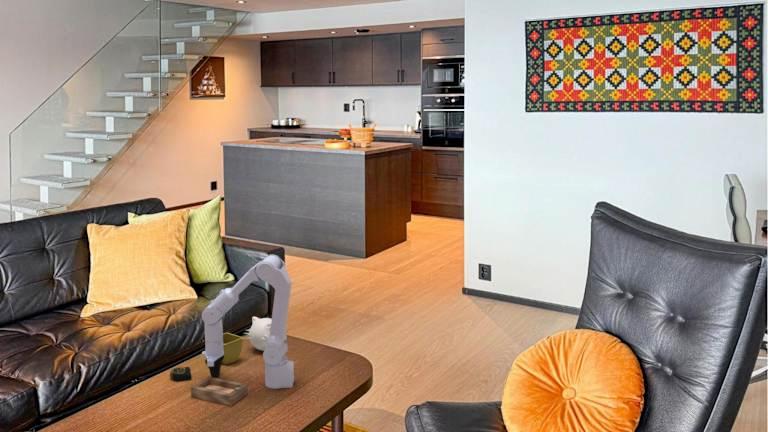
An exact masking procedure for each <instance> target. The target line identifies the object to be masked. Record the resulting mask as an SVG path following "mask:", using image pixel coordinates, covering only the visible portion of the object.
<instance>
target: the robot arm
mask: <svg viewBox="0 0 768 432" xmlns="http://www.w3.org/2000/svg"><path fill="white" fill-rule="evenodd" d="M259 281H263V282H265V283H267V284H269V285H270V286H272V288H274V298H273V305H272V306H273V307H272V314H271V319H272V321H271V329H270V336H269V339H268V342H267V348H266V349H265V351H262V352H263V354H262V358H263V361H264V375H265V377H264V379H265V381H264V384H265V386H266V387H267V388H268V389H272V390H274V389H282V388H283V389H285V388H286V389H288V388H289V389H290V388H293V386H294V383H295V377H294V376H295V375H294V374H295V372H294V370H295V369H294V368H295V367H294V366H295V365H294V361H293V360H289V359H288V358H287V355H286V353H287V352H288V350H289V344H288V341H287V333H286V332H287V331H286V330H287V323H288V314H289V305H290V298H291V289H292V280H291V277H290V275H289V273H288V271H287V269H286V263H285V262H284V260H282V259H281V258H280V256H279V255H276V254H268V255H266V256H265V257H264V258H263V259H262V260H260V261H259V262H257V263H256V264H255V265H253V266H252V267H251V268H249V269H248V271H247V272H246V273H244V275H243V276H242V277H241V278H240V279H239V280H238V281H237V282H236V283H235V284H234V285H233V286H232V287H226V288H225V289H223V288H222V289H221V290H220V291H219V292H218V293H219V295H218V296H216V298H214V299H211V301H210V302H209V304H208V305H207V307H205V308H204V309H203V310H202V312H201V319H202V321H203V322H204V341H205V342H204V344H205V350H204V351H202V352H201V355H202V356H205V360H204V363H205V364H206V366H207V367H208V370H209V372H210V377H214V378H218V379H220V374H221V369H222V365H223V364H222V361H223V359H224V350H223V334H224V329H223V328H224V327H223V317H224V316H225V314H227V312H228V311H230V309H232V308H233V307H234V306H235V305H236V304H237V303H238V302H239V300H240V299H239V298H240V297H239V295H240V294H241V293H242V292H243V291H244V290H246V288H248V287H249V286H250V284H251V283H252V282H259Z"/></svg>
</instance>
